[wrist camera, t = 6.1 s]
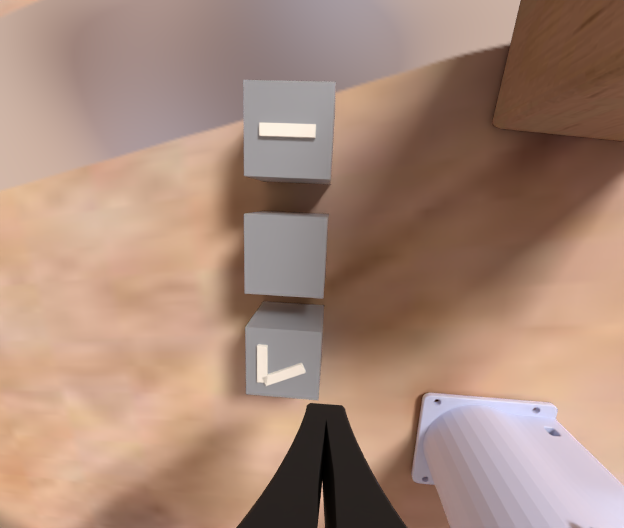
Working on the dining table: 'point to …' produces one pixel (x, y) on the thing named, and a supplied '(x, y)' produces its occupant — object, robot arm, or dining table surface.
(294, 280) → the plain block
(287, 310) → the block marked 7
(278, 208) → the dining table surface
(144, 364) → the dining table surface
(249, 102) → the block marked 1
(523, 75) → the wooden block
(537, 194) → the dining table surface
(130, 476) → the dining table surface
